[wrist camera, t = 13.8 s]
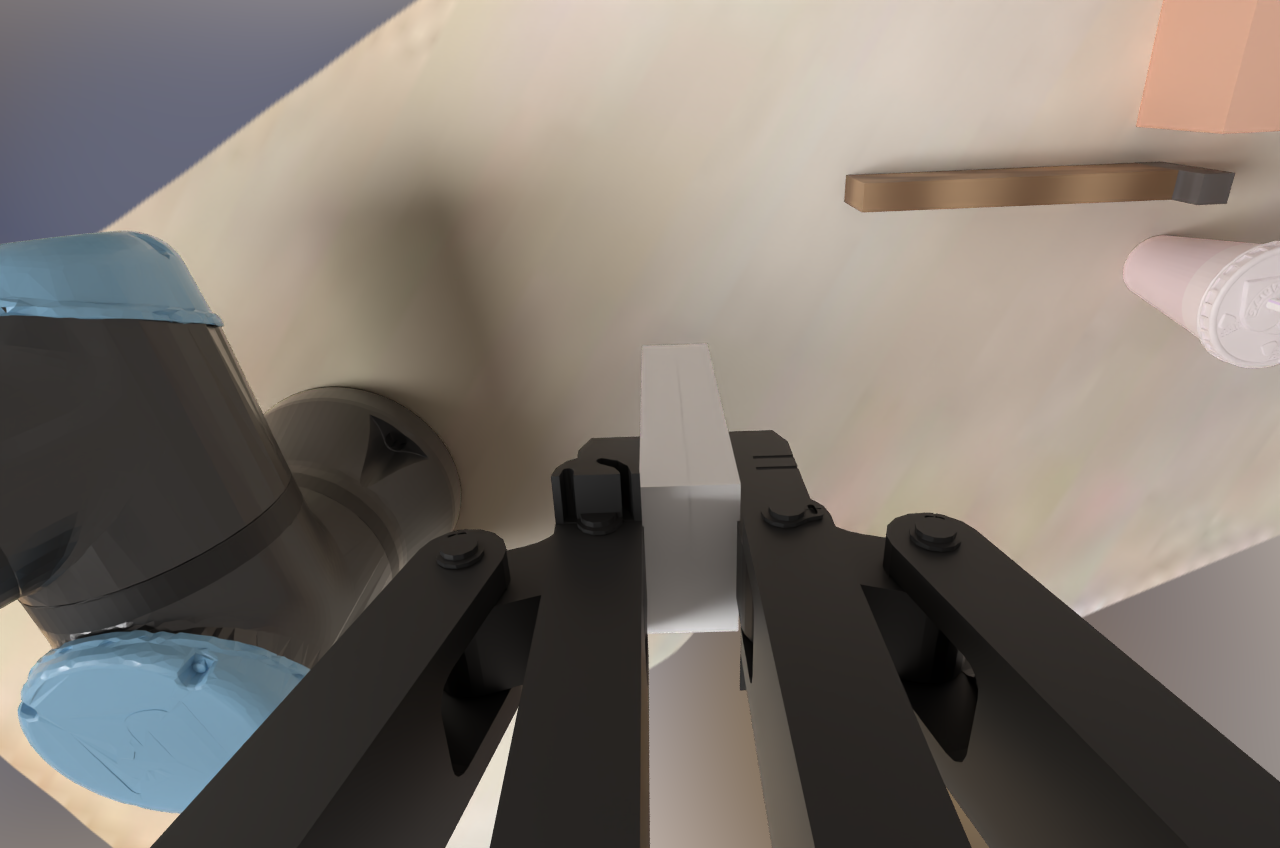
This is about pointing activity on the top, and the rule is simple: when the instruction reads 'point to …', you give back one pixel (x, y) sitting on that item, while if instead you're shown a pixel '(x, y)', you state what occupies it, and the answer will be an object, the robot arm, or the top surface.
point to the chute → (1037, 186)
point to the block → (1214, 67)
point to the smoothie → (1214, 293)
